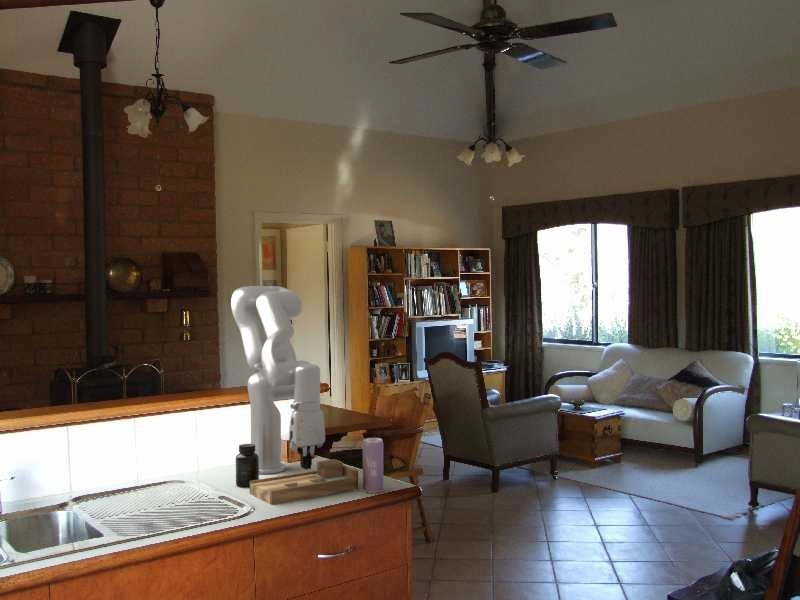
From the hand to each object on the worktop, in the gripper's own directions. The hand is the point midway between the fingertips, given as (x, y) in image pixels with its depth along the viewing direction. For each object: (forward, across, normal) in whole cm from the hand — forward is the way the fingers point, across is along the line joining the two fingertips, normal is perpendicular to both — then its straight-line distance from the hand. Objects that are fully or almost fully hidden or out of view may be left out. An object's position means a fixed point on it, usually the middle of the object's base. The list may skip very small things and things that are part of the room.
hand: (306, 468), depth 241 cm
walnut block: (+3, +7, -2) cm, 8 cm away
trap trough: (+6, -3, -4) cm, 7 cm away
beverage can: (+6, +14, -15) cm, 21 cm away
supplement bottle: (+6, -13, +12) cm, 19 cm away
